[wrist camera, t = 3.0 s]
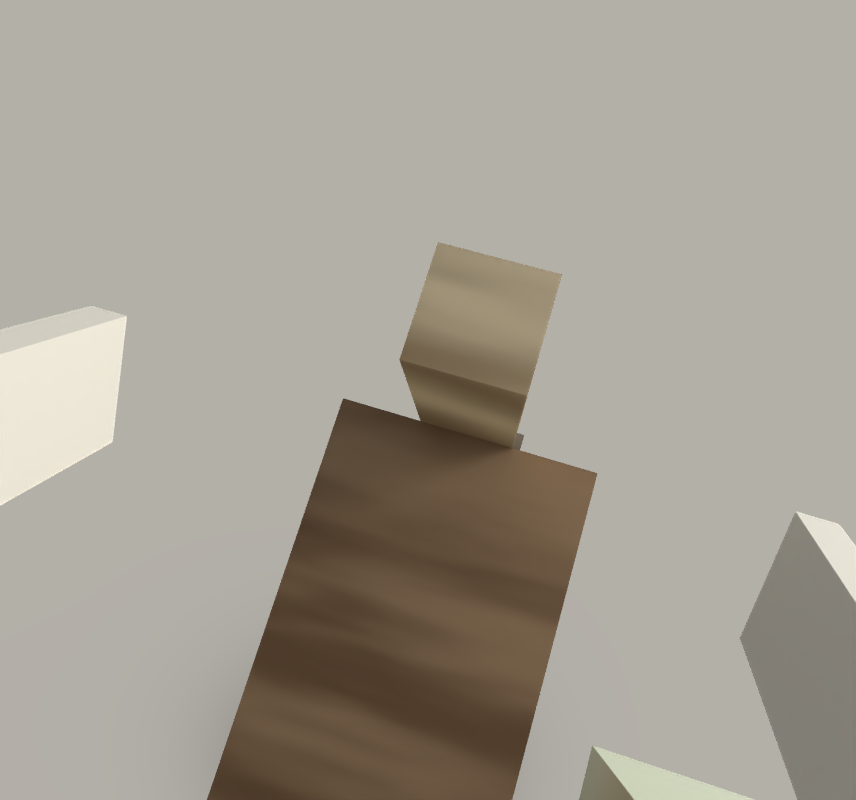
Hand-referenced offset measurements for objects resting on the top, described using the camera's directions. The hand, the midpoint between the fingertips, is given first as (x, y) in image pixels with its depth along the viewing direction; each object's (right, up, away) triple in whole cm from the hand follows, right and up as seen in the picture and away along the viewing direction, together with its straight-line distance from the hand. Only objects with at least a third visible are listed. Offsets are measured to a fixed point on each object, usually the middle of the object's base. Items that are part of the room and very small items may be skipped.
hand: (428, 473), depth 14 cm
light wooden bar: (+1, 0, +16) cm, 16 cm away
